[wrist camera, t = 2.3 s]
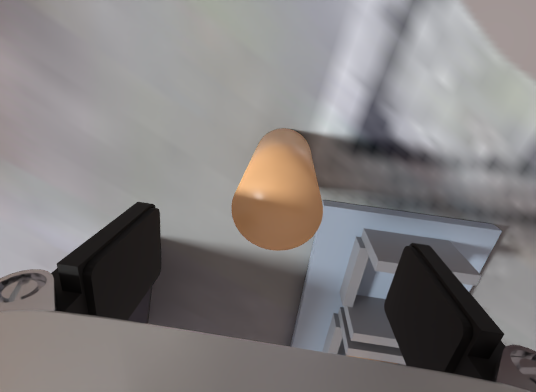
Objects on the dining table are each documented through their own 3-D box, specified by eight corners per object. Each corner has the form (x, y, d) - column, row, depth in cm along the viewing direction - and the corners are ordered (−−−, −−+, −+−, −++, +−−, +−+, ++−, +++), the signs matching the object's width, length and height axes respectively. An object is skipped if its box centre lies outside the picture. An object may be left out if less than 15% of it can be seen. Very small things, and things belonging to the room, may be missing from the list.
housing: (322, 199, 22) (344, 293, 12) (493, 224, 21) (643, 338, 12) (288, 356, 29) (285, 486, 20) (414, 376, 29) (471, 518, 20)
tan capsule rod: (258, 124, 20) (234, 162, 12) (315, 132, 20) (331, 176, 11) (253, 177, 21) (228, 243, 13) (305, 185, 21) (313, 256, 13)
